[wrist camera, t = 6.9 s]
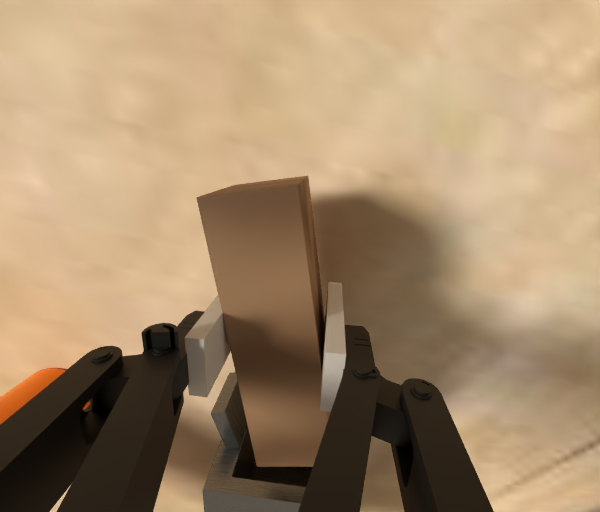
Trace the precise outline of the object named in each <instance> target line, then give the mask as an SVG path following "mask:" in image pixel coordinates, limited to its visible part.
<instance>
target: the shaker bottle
mask: <svg viewBox="0 0 600 512" xmlns="http://www.w3.org/2000/svg"><path fill="white" fill-rule="evenodd" d="M65 371H66V370H63V369H57V368H49V369H44V370H40V371H38V372H36V373H34V374H33V375H32V376H30V377H29V378H27V379H26V380H24V381H23V382H22V383H20V384H19V385H17V386H16V387H14V388H13V389H12V390H10V391H9V392H7V393H6V394H4V395H3V396H2V397H0V424H2V423H3V422H4V421H5V420H6V419H8V418H9V417H10V416H11V415H13V414H14V413H15V412H16V411H17V410H19V409H20V408H21V407H22V406H24V405H25V404H26V403H27V402H28V401H30V400H31V399H32V398H33V397H35V396H36V395H37V394H38V393H39V392H41V391H42V390H43V389H44V388H46V387H47V386H48V385H49V384H50V383H52V382H53V381H54V380H55V379H57V378H58V377H59V376H60V375H61V374H63V373H64V372H65ZM89 405H90V403H89V402H88V403H87V404H86V405H85V406H84V408H83V410H85V409H86V408H87V407H88V406H89Z"/></svg>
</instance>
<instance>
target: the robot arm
mask: <svg viewBox="0 0 600 512" xmlns="http://www.w3.org/2000/svg"><path fill="white" fill-rule="evenodd" d="M142 340H143V347H144V352H143V353H142V354H140V355H132V356H122V350H121V349H120V348H118V347H115V346H105V347H100V348H97V349H95V350H92V351H91V352H89V353H87V354H86V355H85V356H83V357H82V358H81V359H80V360H78V361H77V362H76V363H75V364H74V365H72V366H71V367H70V368H69V369H67V370H66V371H65V372H64V373H63V374H61V375H60V376H59V377H58V378H57V379H55V380H54V381H53V382H52V383H50V384H49V385H48V386H47V387H46V388H44V389H43V390H42V391H41V392H39V393H38V394H37V395H36V396H35V397H33V398H32V399H31V400H30V401H28V402H27V403H26V404H25V405H24V406H22V407H21V408H20V409H19V410H17V411H16V412H15V413H14V414H13V415H11V416H10V417H9V418H8V419H6V420H5V421H4V422H3V423H2V424H0V512H49V511H50V510H51V509H52V508H53V506H54V505H55V504H56V503H57V501H58V500H59V499H60V498H61V496H62V495H63V494H64V493H65V491H66V490H67V489H68V487H69V486H70V485H71V486H70V488H69V490H68V492H67V494H66V495H65V497H64V499H63V501H62V503H61V505H60V506H59V508H58V510H57V512H153V509H154V506H155V502H156V499H157V495H158V492H159V488H160V484H161V481H162V477H163V474H164V470H165V467H166V463H167V459H168V456H169V452H170V449H171V445H172V442H173V438H174V434H175V431H176V427H177V424H178V420H179V417H180V413H181V409H182V406H183V402H184V397H183V391H184V390H185V388H186V387H187V385H188V388H189V395H194V396H202V397H207V396H208V394H209V392H210V390H211V388H212V386H213V385H214V383H215V381H216V379H217V377H218V375H219V373H220V371H221V369H222V367H223V365H224V363H225V361H226V359H227V357H228V355H229V353H230V351H231V349H230V344H229V340H228V335H227V331H226V326H225V322H224V318H223V313H222V309H221V304H220V300H219V295H218V296H217V297H216V298H215V300H214V301H213V302H212V304H211V305H210V306H209V307H208V309H207V310H206V311H205V312H202V311H194V312H192V313H190V314H189V315H187V316H186V317H185V318H184V319H183V320H182V321H181V323H180V324H179V325H178V326H177V327H176V326H175V325H173V324H170V323H161V324H155V325H152V326H150V327H148V328H146V329H145V330H144V331H143V332H142ZM88 402H89V403H90V405H89V406H88V407H87V408H86V409H85V410H83V408H84V406H85V405H86V404H87V403H88ZM320 411H327V412H331V413H330V416H329V419H328V422H327V425H326V428H325V431H324V434H323V437H322V440H321V443H320V446H319V449H318V452H317V456H316V459H315V462H314V465H313V468H312V471H311V474H310V477H309V480H308V483H307V486H306V489H305V492H304V495H303V498H302V501H301V504H300V508H299V511H298V512H360V505H361V499H362V492H363V486H364V480H365V473H366V467H367V460H368V454H369V447H370V441H371V436H374V437H376V438H379V439H381V440H384V441H386V442H388V443H391V447H392V452H393V457H394V462H395V467H396V472H397V477H398V482H399V486H400V491H401V496H402V501H403V506H404V511H405V512H494V511H493V509H492V507H491V505H490V502H489V500H488V498H487V496H486V493H485V491H484V489H483V487H482V484H481V482H480V480H479V478H478V475H477V473H476V471H475V469H474V466H473V464H472V462H471V460H470V457H469V455H468V453H467V451H466V449H465V446H464V444H463V442H462V440H461V437H460V435H459V433H458V431H457V428H456V426H455V424H454V422H453V419H452V417H451V415H450V413H449V410H448V408H447V406H446V404H445V402H444V399H443V397H442V395H441V393H440V392H439V390H438V389H437V388H436V387H435V386H434V385H432V384H431V383H429V382H427V381H425V380H421V379H408V380H406V381H404V383H403V384H402V385H399V384H396V383H393V382H390V381H388V380H386V379H385V378H383V377H382V376H381V375H380V372H379V370H378V369H377V368H376V367H375V363H374V358H373V352H372V347H371V342H370V337H369V333H368V332H367V330H366V329H365V328H364V327H362V326H352V325H344V309H343V292H342V283H338V282H328V292H327V304H326V315H325V328H324V346H323V365H322V383H321V401H320Z"/></svg>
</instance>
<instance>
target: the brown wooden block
mask: <svg viewBox="0 0 600 512" xmlns="http://www.w3.org/2000/svg"><path fill="white" fill-rule="evenodd" d="M197 202H198V206H199V211H200V215H201V219H202V224H203V228H204V233H205V237H206V242H207V246H208V251H209V255H210V260H211V264H212V268H213V273H214V277H215V282H216V286H217V291H218V295H219V300H220V304H221V309H222V313H223V318H224V322H225V326H226V331H227V335H228V340H229V344H230V349H231V353H232V358H233V362H234V367H235V371H236V376H237V380H238V384H239V389H240V393H241V398H242V402H243V407H244V411H245V416H246V420H247V425H248V429H249V434H250V438H251V442H252V447H253V451H254V456H255V460H256V465H257V467H313V465H314V462H315V459H316V456H317V452H318V449H319V446H320V443H321V440H322V437H323V434H324V431H325V428H326V425H327V422H328V419H329V416H330V413H331V412H327V411H320V401H321V383H322V365H323V346H324V328H325V315H324V307H323V298H322V290H321V281H320V273H319V264H318V256H317V247H316V239H315V230H314V222H313V213H312V205H311V196H310V188H309V179H308V176H303V177H295V178H287V179H279V180H271V181H263V182H255V183H247V184H239V185H233V186H230V187H227V188H224V189H221V190H218V191H215V192H212V193H209V194H206V195H203V196H200V197H197Z"/></svg>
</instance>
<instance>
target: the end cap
mask: <svg viewBox="0 0 600 512" xmlns="http://www.w3.org/2000/svg"><path fill="white" fill-rule="evenodd" d="M211 415H212V418H213V420H214V422H215V424H216V427H217V429H218V431H219V433H220V436H221V438H222V440H221V443H220V446H219V448H218V451H217V454H216V456H215V459H214V462H213V464H212V467H211V469H210V472H209V475H208V477H207V480H206V483H205V485H204V488H203V500H204V512H298V511H299V508H300V504H301V501H302V498H303V495H304V492H305V489H306V486H307V483H308V480H309V477H310V474H311V471H312V470H307V469H299V468H292V467H257V465H256V463H254V451H253V447H252V442H251V438H250V434H249V429H248V425H247V420H246V416H245V411H244V407H243V402H242V398H241V393H240V389H239V384H238V380H237V376H236V373H230V374H229V375H228V377H227V379H226V382H225V384H224V386H223V388H222V390H221V392H220V395H219V397H218V399H217V401H216V403H215V406H214V408H213V410H212V412H211Z"/></svg>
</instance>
